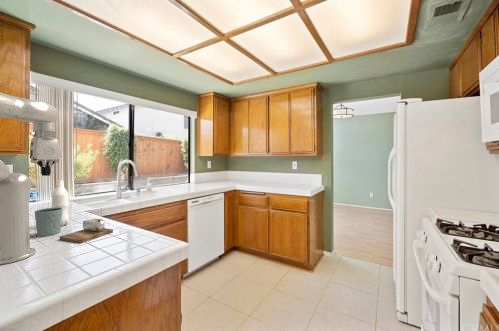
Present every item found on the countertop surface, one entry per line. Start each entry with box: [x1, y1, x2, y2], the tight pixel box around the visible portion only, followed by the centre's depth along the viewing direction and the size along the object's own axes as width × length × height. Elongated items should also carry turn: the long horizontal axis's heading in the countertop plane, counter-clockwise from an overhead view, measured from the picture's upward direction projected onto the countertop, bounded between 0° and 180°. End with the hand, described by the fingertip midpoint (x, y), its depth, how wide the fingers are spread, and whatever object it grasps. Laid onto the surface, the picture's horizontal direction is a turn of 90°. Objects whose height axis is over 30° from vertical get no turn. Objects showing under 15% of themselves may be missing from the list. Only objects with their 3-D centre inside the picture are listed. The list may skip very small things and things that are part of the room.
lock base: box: [59, 218, 114, 244], centre depth 107 cm, size 15×14×6 cm
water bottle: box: [51, 179, 70, 227], centre depth 124 cm, size 7×7×25 cm
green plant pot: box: [34, 207, 62, 238], centre depth 110 cm, size 10×10×12 cm
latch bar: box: [82, 218, 106, 232], centre depth 110 cm, size 12×4×5 cm, turn 69°
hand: (46, 175), depth 104 cm, fingers closed
